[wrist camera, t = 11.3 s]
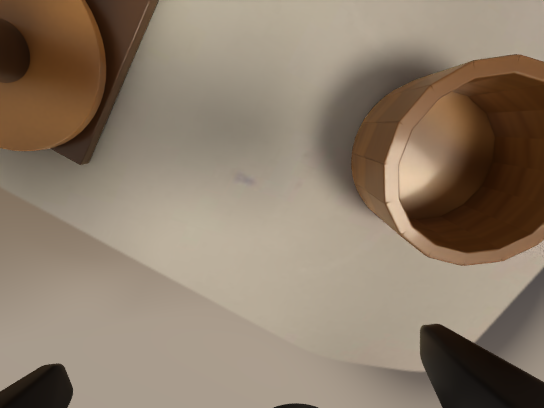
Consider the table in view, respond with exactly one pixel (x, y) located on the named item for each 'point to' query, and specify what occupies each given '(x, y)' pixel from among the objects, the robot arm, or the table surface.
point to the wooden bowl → (459, 160)
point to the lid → (48, 72)
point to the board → (111, 64)
